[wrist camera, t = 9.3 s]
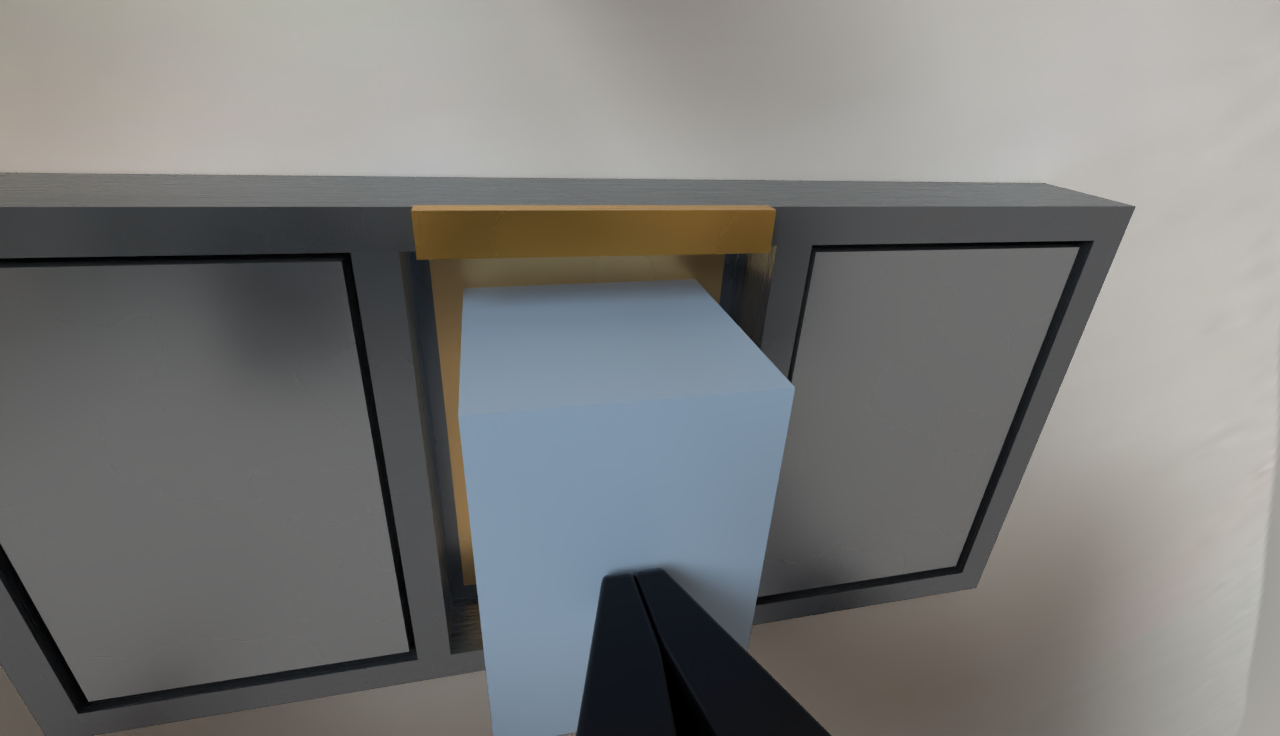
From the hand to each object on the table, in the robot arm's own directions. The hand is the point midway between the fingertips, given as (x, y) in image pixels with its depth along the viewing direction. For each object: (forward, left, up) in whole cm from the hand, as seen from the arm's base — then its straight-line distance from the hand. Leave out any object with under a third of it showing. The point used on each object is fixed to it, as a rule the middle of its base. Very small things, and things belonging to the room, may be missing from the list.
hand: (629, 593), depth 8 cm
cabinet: (0, 0, -5) cm, 5 cm away
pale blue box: (0, 0, -4) cm, 4 cm away
